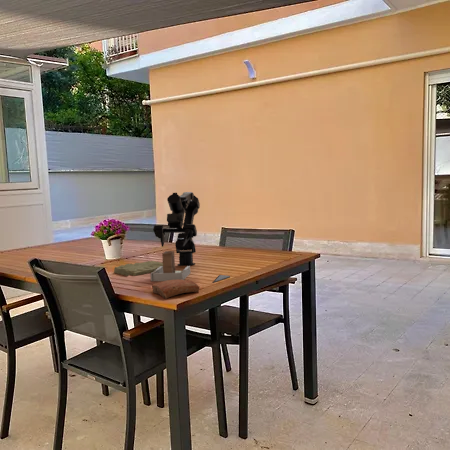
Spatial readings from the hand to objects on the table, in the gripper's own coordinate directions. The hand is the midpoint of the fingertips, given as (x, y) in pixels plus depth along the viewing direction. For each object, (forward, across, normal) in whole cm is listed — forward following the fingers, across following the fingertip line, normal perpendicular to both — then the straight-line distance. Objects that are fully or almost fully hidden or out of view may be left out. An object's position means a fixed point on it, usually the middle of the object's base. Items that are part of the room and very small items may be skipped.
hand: (172, 246), depth 191 cm
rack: (+13, 0, +6) cm, 14 cm away
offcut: (+10, 0, +8) cm, 13 cm away
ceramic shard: (+28, +6, -9) cm, 30 cm away
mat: (+13, +17, +6) cm, 22 cm away
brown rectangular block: (+15, 0, +4) cm, 15 cm away
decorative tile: (+2, -18, +18) cm, 25 cm away
